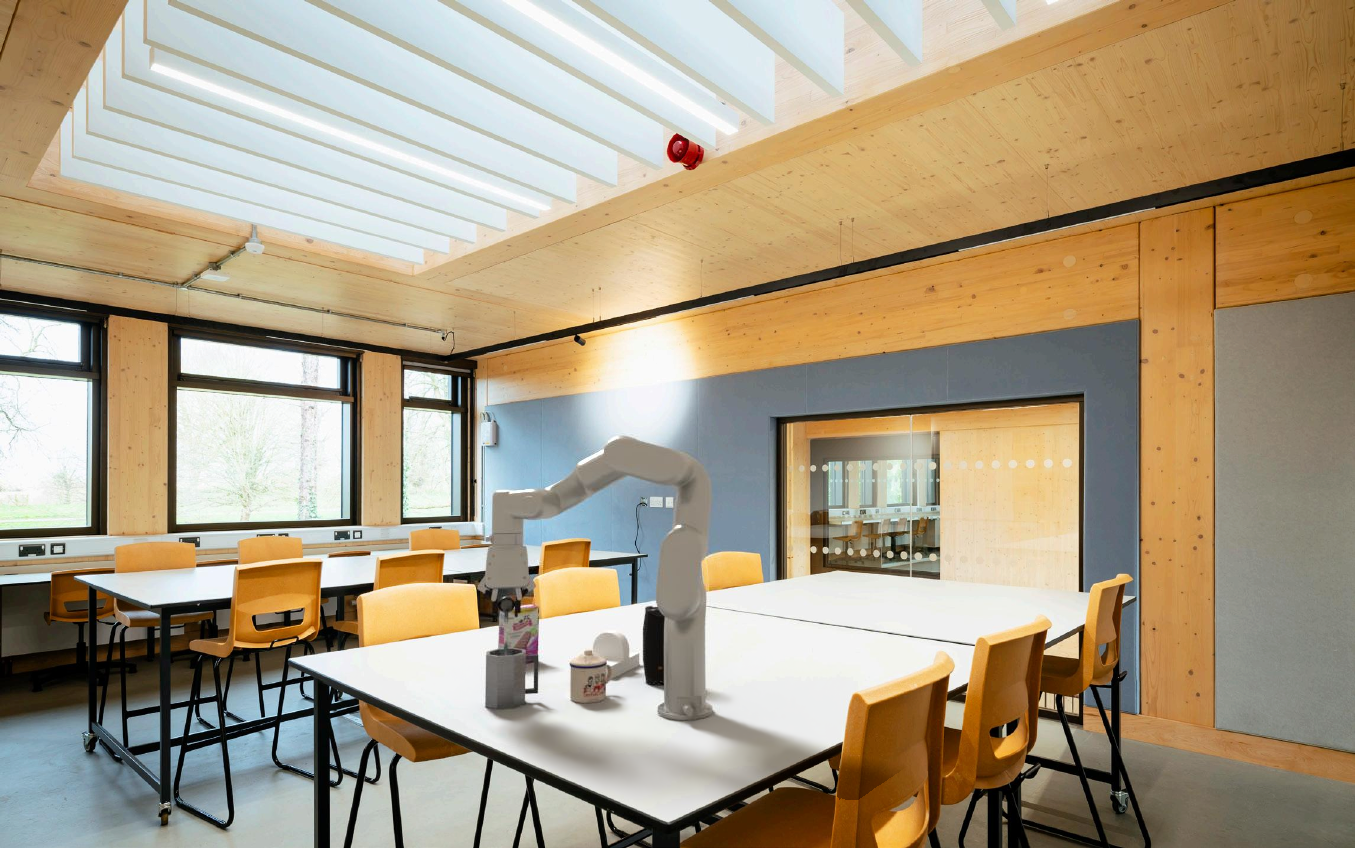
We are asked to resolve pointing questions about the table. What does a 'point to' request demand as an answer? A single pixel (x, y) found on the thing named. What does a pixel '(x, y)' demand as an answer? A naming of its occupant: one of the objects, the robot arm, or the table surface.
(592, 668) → the teacup with lid
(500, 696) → the grey faceted mug
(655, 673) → the portable speaker
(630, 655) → the white arched block
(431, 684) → the table surface
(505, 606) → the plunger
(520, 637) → the candy bar box
